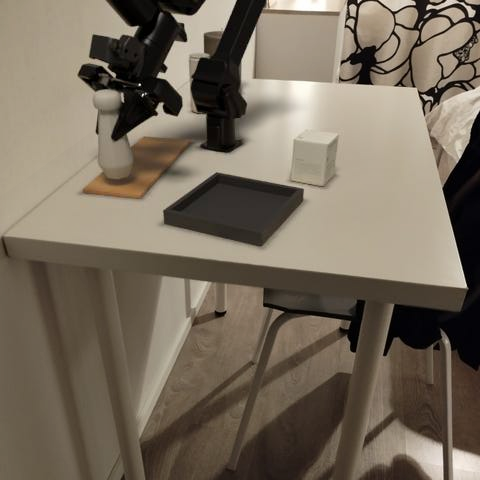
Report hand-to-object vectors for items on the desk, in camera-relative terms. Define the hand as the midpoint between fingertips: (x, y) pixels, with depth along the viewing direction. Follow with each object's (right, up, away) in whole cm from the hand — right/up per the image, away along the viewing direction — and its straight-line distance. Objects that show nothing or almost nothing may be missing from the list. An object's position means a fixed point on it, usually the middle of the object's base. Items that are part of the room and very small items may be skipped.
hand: (105, 137), depth 81 cm
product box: (+34, -4, +9) cm, 35 cm away
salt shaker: (+1, -5, +5) cm, 7 cm away
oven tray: (+20, -12, -2) cm, 24 cm away
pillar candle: (+17, +31, +56) cm, 66 cm away
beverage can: (+12, +21, +42) cm, 48 cm away
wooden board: (+3, 0, +14) cm, 14 cm away
